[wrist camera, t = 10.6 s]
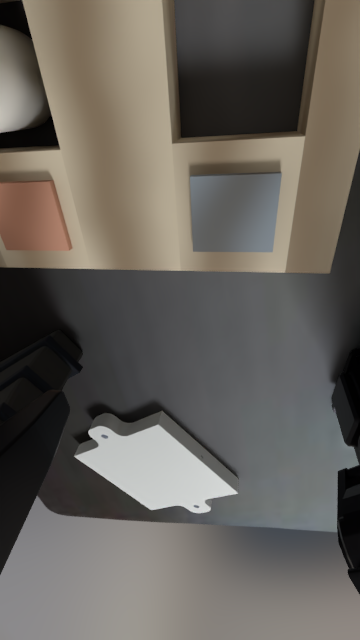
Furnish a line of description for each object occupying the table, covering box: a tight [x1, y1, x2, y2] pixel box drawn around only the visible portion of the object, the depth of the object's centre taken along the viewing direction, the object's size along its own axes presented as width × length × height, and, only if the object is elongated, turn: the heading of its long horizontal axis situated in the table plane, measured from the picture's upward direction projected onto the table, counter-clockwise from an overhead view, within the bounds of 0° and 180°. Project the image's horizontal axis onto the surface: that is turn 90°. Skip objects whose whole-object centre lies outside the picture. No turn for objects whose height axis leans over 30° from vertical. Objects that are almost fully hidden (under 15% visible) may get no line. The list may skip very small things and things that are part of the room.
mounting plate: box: [74, 411, 239, 513], centre depth 34 cm, size 18×13×2 cm
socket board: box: [0, 0, 360, 273], centre depth 14 cm, size 21×14×3 cm, turn 94°
